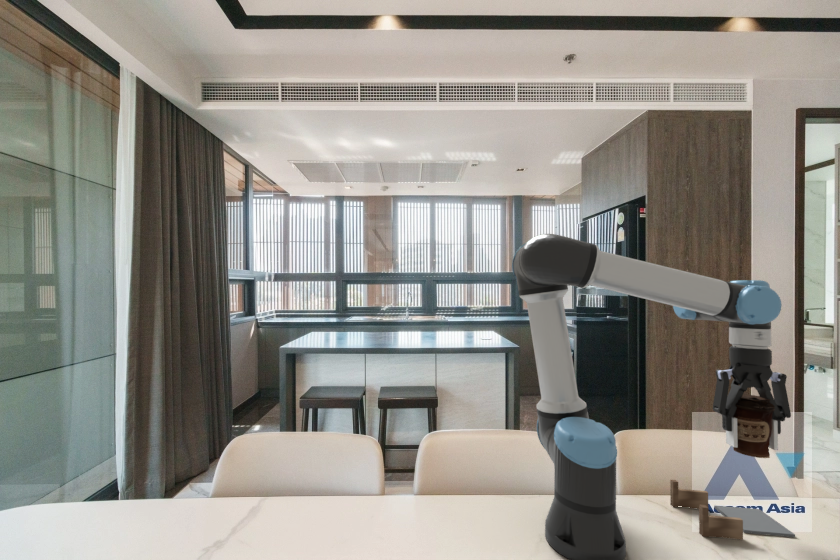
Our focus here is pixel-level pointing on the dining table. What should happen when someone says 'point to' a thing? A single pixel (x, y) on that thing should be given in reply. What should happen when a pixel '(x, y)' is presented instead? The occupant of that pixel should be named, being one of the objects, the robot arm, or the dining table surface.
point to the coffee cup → (754, 425)
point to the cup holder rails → (706, 513)
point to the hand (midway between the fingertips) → (751, 446)
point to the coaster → (755, 521)
